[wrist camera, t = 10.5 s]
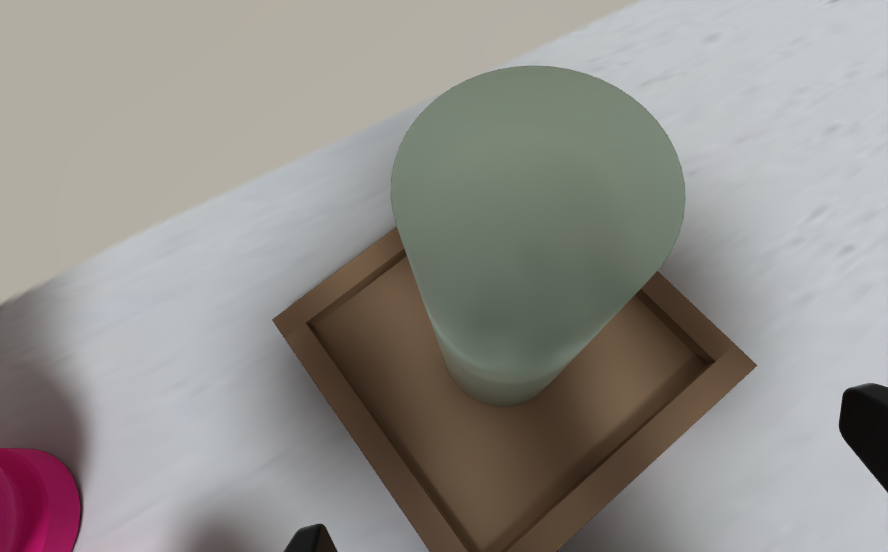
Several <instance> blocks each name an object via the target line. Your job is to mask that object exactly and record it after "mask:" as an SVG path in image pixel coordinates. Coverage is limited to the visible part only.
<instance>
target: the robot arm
mask: <svg viewBox="0 0 888 552" xmlns="http://www.w3.org/2000/svg"><path fill="white" fill-rule="evenodd" d="M839 430H840V432H841V435H842V437H843V438H844V440H845V441H846V443H847V444H848V445H849V446H850V447H851V449H852V450H853V451H854V452H855V454H856V455H857V456H858V457H859V458H860V460H861V461H862V462H863V463H864V464H865V466H866V467H867V468H868V469H869V471H870V472H871V473H872V474H873V475H874V477H875V478H876V479H877V480H878V481H879V483H880V484H881V485H882V486H883V488H884V489H885V490H886V491H887V492H888V387H885V386H882V385H878V384H874V383H867V384H863V385H859V386H855V387H851V388H848V389H846V390H845V392H844V393H843V396H842V404H841V411H840V419H839ZM284 552H337V549H336V547H335V545H334V543H333V541H332V539H331V537H330V535H329V533H328V531H327V529H326V527H325V526H324V525H323V524H315V525H311V526H307V527H304V528H301V529H299V530H298V531H297V532H296V533H295V535H294V536H293V538H292V539H291V541H290V543H289V544H288V546H287V547H286V549H285V550H284Z"/></svg>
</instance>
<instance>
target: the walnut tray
mask: <svg viewBox="0 0 888 552" xmlns="http://www.w3.org/2000/svg"><path fill="white" fill-rule="evenodd" d="M272 321H273V322H274V323H275V325H276V326H277V328H278V329H279V331H280V332H281V334H282V335H283V337H284V338H285V340H286V341H287V343H288V344H289V345H290V347H291V348H292V350H293V351H294V353H295V354H296V356H297V357H298V359H299V360H300V362H301V363H302V365H303V366H304V368H305V369H306V370H307V372H308V373H309V375H310V376H311V378H312V379H313V381H314V382H315V384H316V385H317V387H318V388H319V390H320V391H321V392H322V394H323V395H324V397H325V398H326V400H327V401H328V403H329V404H330V406H331V407H332V409H333V410H334V412H335V413H336V414H337V416H338V417H339V419H340V420H341V422H342V423H343V425H344V426H345V428H346V429H347V431H348V432H349V434H350V435H351V436H352V438H353V439H354V441H355V442H356V444H357V445H358V447H359V448H360V450H361V451H362V453H363V454H364V456H365V457H366V458H367V460H368V461H369V463H370V464H371V466H372V467H373V469H374V470H375V472H376V473H377V475H378V476H379V478H380V479H381V480H382V482H383V483H384V485H385V486H386V488H387V489H388V491H389V492H390V494H391V495H392V497H393V498H394V500H395V501H396V502H397V504H398V505H399V507H400V508H401V510H402V511H403V513H404V514H405V516H406V517H407V519H408V520H409V522H410V523H411V524H412V526H413V527H414V529H415V530H416V532H417V533H418V535H419V536H420V538H421V539H422V541H423V542H424V544H425V545H426V546H427V548H428V549H429V551H430V552H556V551H557V550H558V549H559V548H560V547H561V546H562V545H563V544H565V543H566V542H567V541H568V540H569V539H570V538H571V537H572V536H573V535H574V534H575V533H576V532H578V531H579V530H580V529H581V528H582V527H583V526H584V525H585V524H586V523H587V522H588V521H589V520H591V519H592V518H593V517H594V516H595V515H596V514H597V513H598V512H599V511H600V510H601V509H602V508H604V507H605V506H606V505H607V504H608V503H609V502H610V501H611V500H612V499H613V498H614V497H615V496H617V495H618V494H619V493H620V492H621V491H622V490H623V489H624V488H625V487H626V486H627V485H628V484H630V483H631V482H632V481H633V480H634V479H635V478H636V477H637V476H638V475H639V474H640V473H641V472H643V471H644V470H645V469H646V468H647V467H648V466H649V465H650V464H651V463H652V462H653V461H654V460H656V459H657V458H658V457H659V456H660V455H661V454H662V453H663V452H664V451H665V450H666V449H667V448H669V447H670V446H671V445H672V444H673V443H674V442H675V441H676V440H677V439H678V438H679V437H680V436H682V435H683V434H684V433H685V432H686V431H687V430H688V429H689V428H690V427H691V426H692V425H693V424H694V423H696V422H697V421H698V420H699V419H700V418H701V417H702V416H703V415H704V414H705V413H706V412H707V411H709V410H710V409H711V408H712V407H713V406H714V405H715V404H716V403H717V402H718V401H719V400H720V399H722V398H723V397H724V396H725V395H726V394H727V393H728V392H729V391H730V390H731V389H732V388H733V387H735V386H736V385H737V384H738V383H739V382H740V381H741V380H742V379H743V378H744V377H745V376H746V375H748V374H749V373H750V372H751V371H752V370H753V369H754V368H755V367H756V366H757V365H756V364H755V363H754V362H753V361H752V360H751V359H750V358H749V357H748V356H747V355H746V354H745V353H744V352H743V351H742V350H740V349H739V348H738V347H737V346H736V345H735V344H734V343H733V342H732V341H731V340H730V339H729V338H728V337H727V336H726V335H725V334H724V333H723V332H721V331H720V330H719V329H718V328H717V327H716V326H715V325H714V324H713V323H712V322H711V321H710V320H709V319H708V318H707V317H706V316H705V315H703V314H702V313H701V312H700V311H699V310H698V309H697V308H696V307H695V306H694V305H693V304H692V303H691V302H690V301H689V300H688V299H687V298H686V297H684V296H683V295H682V294H681V293H680V292H679V291H678V290H677V289H676V288H675V287H674V286H673V285H672V284H671V283H670V282H669V281H668V280H666V279H665V278H664V277H663V276H662V275H661V274H660V273H659V272H658V271H657V272H656V273H655V274H654V275H653V276H652V277H651V278H650V279H649V280H648V281H647V283H646V284H645V285H644V286H643V287H642V288H641V289H640V290H639V291H638V292H637V293H636V294H635V295H634V296H633V297H632V298H631V299H630V300H629V301H628V302H627V303H626V304H625V306H624V307H623V308H622V309H621V310H620V311H619V312H618V313H617V314H616V315H615V316H614V317H613V318H612V319H611V320H610V321H609V322H608V323H607V324H606V325H605V326H604V327H603V328H602V330H601V331H600V332H599V333H598V334H597V335H596V336H595V337H594V338H593V339H592V340H591V341H590V342H589V343H588V344H587V345H586V346H585V347H584V348H583V349H582V350H581V351H580V353H579V354H578V355H577V356H576V357H575V358H574V359H573V360H572V361H571V362H570V363H569V364H568V365H567V366H566V367H565V368H564V369H563V370H562V371H561V372H560V373H559V374H558V376H557V377H556V378H555V379H554V380H553V381H552V382H551V383H550V384H549V385H548V386H547V387H546V388H545V389H544V390H543V391H542V392H541V393H540V394H538V395H537V396H536V397H534V398H533V399H531V400H529V401H527V402H524V403H522V404H518V405H514V406H507V407H499V406H491V405H487V404H484V403H481V402H479V401H476V400H475V399H473V398H471V397H469V396H468V395H467V394H465V393H464V392H463V391H462V390H461V389H460V388H459V387H458V386H457V385H456V384H455V382H454V381H453V379H452V378H451V376H450V374H449V372H448V370H447V368H446V365H445V362H444V359H443V357H442V354H441V351H440V348H439V345H438V342H437V339H436V337H435V334H434V331H433V328H432V325H431V322H430V320H429V317H428V314H427V311H426V308H425V305H424V303H423V300H422V297H421V294H420V291H419V288H418V286H417V283H416V280H415V277H414V274H413V271H412V269H411V266H410V263H409V260H408V257H407V254H406V251H405V249H404V246H403V243H402V240H401V237H400V234H399V232H398V229H397V227H396V228H394V229H393V230H392V231H390V232H389V233H388V234H386V235H385V236H384V237H382V238H381V239H380V240H378V241H377V242H376V243H374V244H373V245H372V246H370V247H369V248H368V249H366V250H365V251H364V252H362V253H361V254H360V255H358V256H357V257H356V258H354V259H353V260H352V261H350V262H349V263H348V264H346V265H345V266H343V267H342V268H341V269H339V270H338V271H337V272H335V273H334V274H333V275H331V276H330V277H329V278H327V279H326V280H325V281H323V282H322V283H321V284H319V285H318V286H317V287H315V288H314V289H313V290H311V291H310V292H309V293H307V294H306V295H305V296H303V297H302V298H301V299H299V300H298V301H297V302H295V303H294V304H292V305H291V306H290V307H288V308H287V309H286V310H284V311H283V312H282V313H280V314H279V315H278V316H276V317H275V318H274V319H272Z"/></svg>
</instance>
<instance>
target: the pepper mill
mask: <svg viewBox="0 0 888 552" xmlns="http://www.w3.org/2000/svg"><path fill="white" fill-rule="evenodd" d="M80 510H81V508H80V501H79V494H78V489H77V487H76V484H75V481H74V479H73V476H72V475H71V473H70V472H69V470H68V469H67V468H66V466H65V465H64V464H63V463H62V462H61V461H60V460H59V459H57V458H56V457H54V456H52V455H50V454H48V453H47V452H44V451H40V450H35V449H23V448H0V552H71V551H72V549H73V546H74V543H75V540H76V537H77V534H78V527H79V519H80Z"/></svg>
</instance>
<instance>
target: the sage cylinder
mask: <svg viewBox="0 0 888 552" xmlns="http://www.w3.org/2000/svg"><path fill="white" fill-rule="evenodd" d="M391 201H392V210H393V214H394V218H395V222H396V225H397V229H398V232H399V234H400V237H401V240H402V243H403V246H404V249H405V251H406V254H407V257H408V260H409V263H410V266H411V269H412V271H413V274H414V277H415V280H416V283H417V286H418V288H419V291H420V294H421V297H422V300H423V303H424V305H425V308H426V311H427V314H428V317H429V320H430V322H431V325H432V328H433V331H434V334H435V337H436V339H437V342H438V345H439V348H440V351H441V354H442V357H443V359H444V362H445V365H446V368H447V370H448V372H449V374H450V376H451V378H452V379H453V381H454V382H455V384H456V385H457V386H458V387H459V388H460V389H461V390H462V391H463V392H464V393H465V394H467V395H468V396H469V397H471V398H473V399H475V400H476V401H479V402H481V403H484V404H487V405H491V406H499V407H507V406H514V405H518V404H522V403H524V402H527V401H529V400H531V399H533V398H534V397H536V396H537V395H538V394H540V393H541V392H542V391H543V390H544V389H545V388H546V387H547V386H548V385H549V384H550V383H551V382H552V381H553V380H554V379H555V378H556V377H557V376H558V374H559V373H560V372H561V371H562V370H563V369H564V368H565V367H566V366H567V365H568V364H569V363H570V362H571V361H572V360H573V359H574V358H575V357H576V356H577V355H578V354H579V353H580V351H581V350H582V349H583V348H584V347H585V346H586V345H587V344H588V343H589V342H590V341H591V340H592V339H593V338H594V337H595V336H596V335H597V334H598V333H599V332H600V331H601V330H602V328H603V327H604V326H605V325H606V324H607V323H608V322H609V321H610V320H611V319H612V318H613V317H614V316H615V315H616V314H617V313H618V312H619V311H620V310H621V309H622V308H623V307H624V306H625V304H626V303H627V302H628V301H629V300H630V299H631V298H632V297H633V296H634V295H635V294H636V293H637V292H638V291H639V290H640V289H641V288H642V287H643V286H644V285H645V284H646V283H647V281H648V280H649V279H650V278H651V277H652V276H653V275H654V274H655V273H656V272H657V270H658V269H659V268H660V267H661V266H662V264H663V263H664V261H665V260H666V258H667V257H668V255H669V254H670V252H671V250H672V248H673V246H674V244H675V242H676V239H677V237H678V235H679V232H680V228H681V224H682V221H683V217H684V207H685V183H684V178H683V173H682V168H681V165H680V162H679V159H678V156H677V153H676V151H675V149H674V147H673V145H672V143H671V141H670V139H669V137H668V135H667V134H666V133H665V131H664V130H663V128H662V127H661V126H660V124H659V123H658V121H657V120H656V119H655V118H654V117H653V116H652V115H651V114H650V113H649V112H648V111H647V110H646V108H644V107H643V106H642V105H641V104H640V103H638V102H637V101H636V100H635V99H634V98H632V97H631V96H629V95H628V94H626V93H625V92H623V91H622V90H620V89H619V88H617V87H615V86H613V85H611V84H609V83H607V82H605V81H603V80H601V79H598V78H596V77H593V76H591V75H588V74H585V73H581V72H577V71H574V70H570V69H564V68H558V67H550V66H519V67H511V68H505V69H499V70H495V71H491V72H488V73H484V74H481V75H478V76H476V77H473V78H471V79H468V80H466V81H464V82H462V83H460V84H458V85H456V86H455V87H453V88H451V89H450V90H448V91H447V92H445V93H444V94H442V95H441V96H439V97H438V98H437V99H436V100H435V101H433V102H432V103H431V104H430V105H429V106H428V107H427V108H426V109H425V110H424V111H423V112H422V113H421V114H420V115H419V116H418V118H417V119H416V120H415V121H414V123H413V124H412V126H411V127H410V129H409V130H408V132H407V133H406V135H405V137H404V139H403V141H402V143H401V145H400V147H399V150H398V153H397V156H396V159H395V162H394V166H393V172H392V177H391Z"/></svg>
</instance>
